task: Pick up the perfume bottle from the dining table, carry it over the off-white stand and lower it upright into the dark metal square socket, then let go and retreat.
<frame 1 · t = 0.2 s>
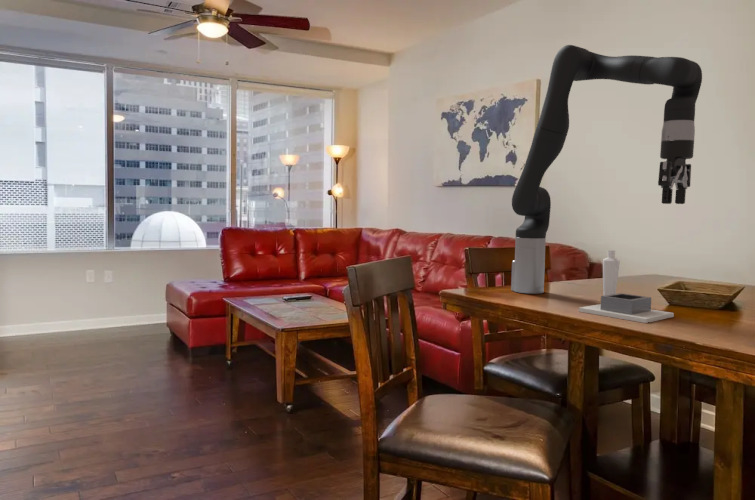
hand: (673, 203, 152), 28 cm above the table, fingers open, 8 cm apart
socket collar: (625, 303, 153), on the stand board, point 3 cm above the table
stand board: (625, 314, 153), on the table
perfume bottle: (609, 303, 170), on the table
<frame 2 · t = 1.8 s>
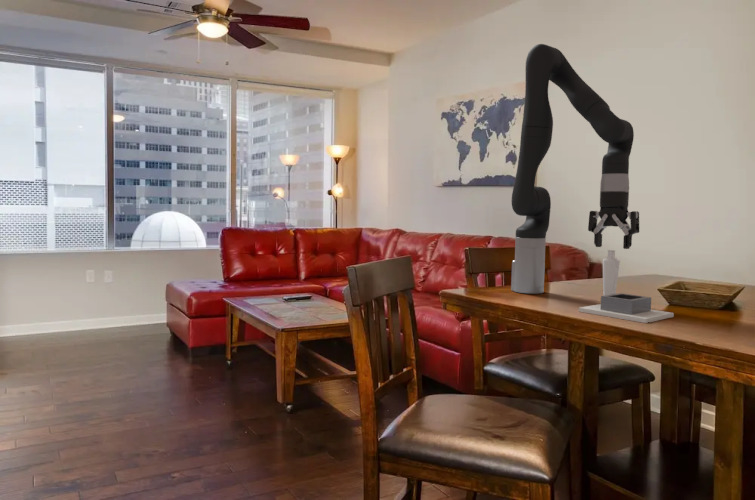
hand: (612, 247, 169), 16 cm above the table, fingers open, 8 cm apart
nothing on the table moved.
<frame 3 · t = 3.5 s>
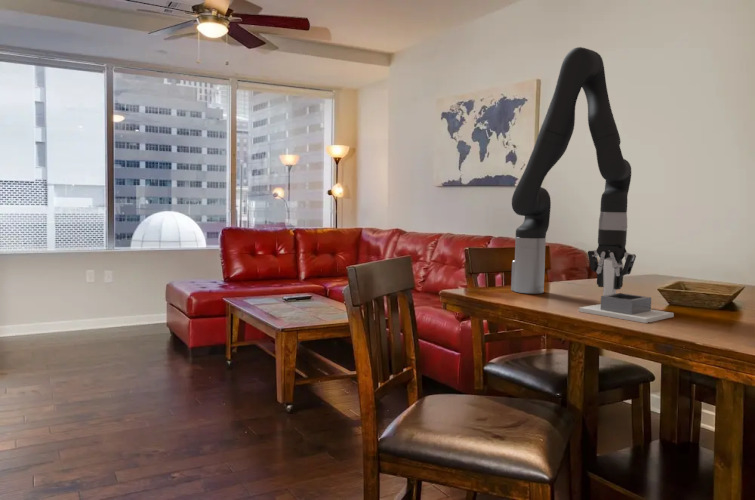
hand: (609, 287, 170), 4 cm above the table, fingers closed on perfume bottle, 4 cm apart
perfume bottle: (609, 303, 170), on the table, touching gripper
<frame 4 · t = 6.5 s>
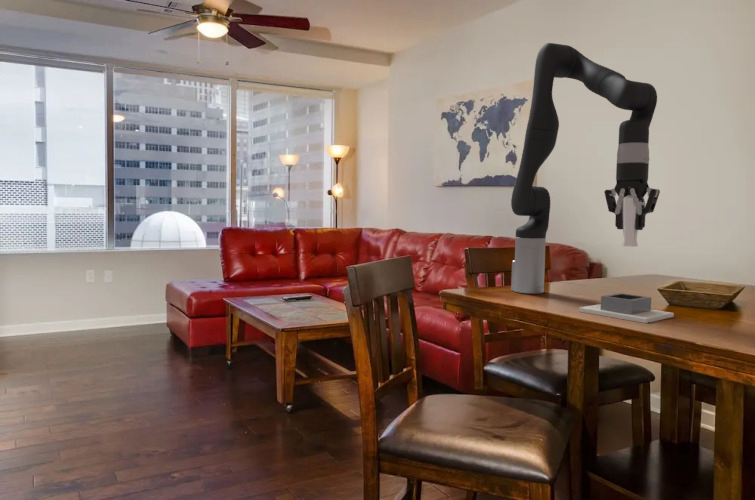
hand: (629, 229, 152), 22 cm above the table, fingers closed on perfume bottle, 4 cm apart
perfume bottle: (630, 246, 152), point 17 cm above the table, touching gripper
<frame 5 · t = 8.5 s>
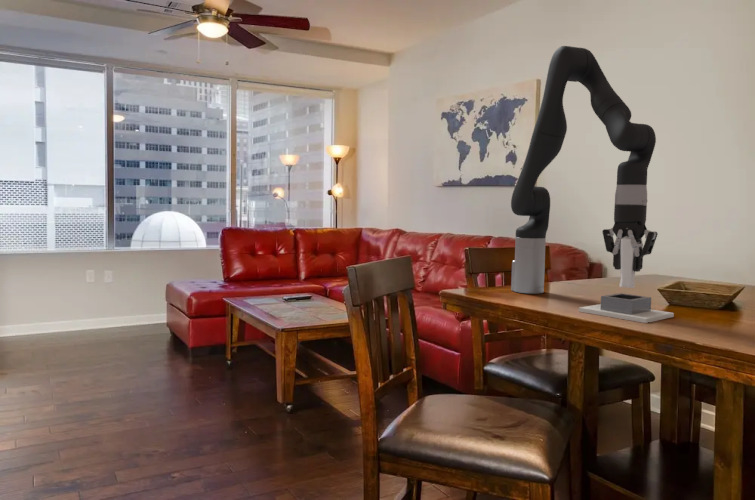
hand: (627, 270, 152), 11 cm above the table, fingers closed on perfume bottle, 4 cm apart
perfume bottle: (627, 287, 152), point 7 cm above the table, touching gripper
when the fingers open (6 cm above the table, at t = 9.9 s): perfume bottle stays where it is, resting on stand board.
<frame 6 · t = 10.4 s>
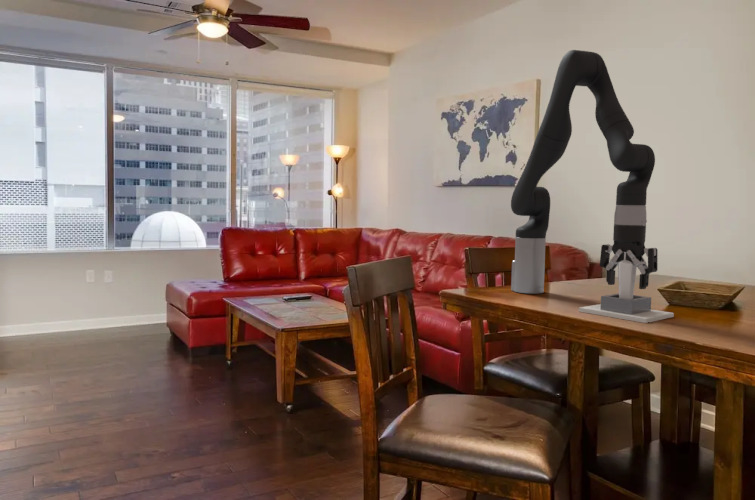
hand: (626, 286, 152), 7 cm above the table, fingers open, 8 cm apart
perfume bottle: (626, 311, 153), point 1 cm above the table, touching stand board
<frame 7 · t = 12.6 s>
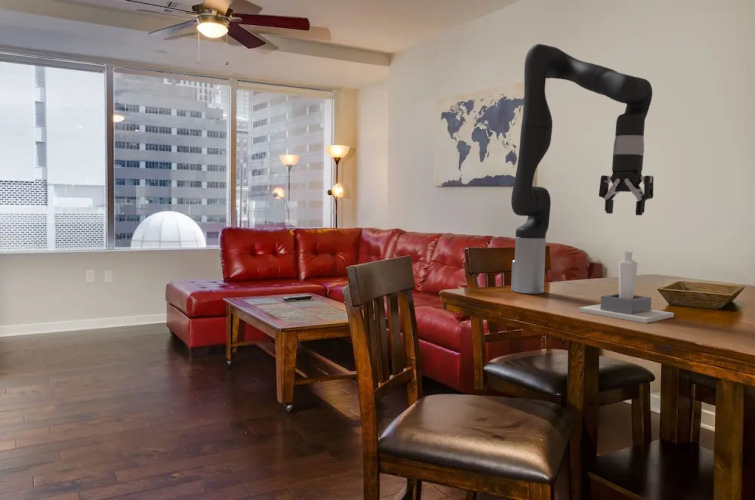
hand: (623, 214, 160), 25 cm above the table, fingers open, 8 cm apart
nothing on the table moved.
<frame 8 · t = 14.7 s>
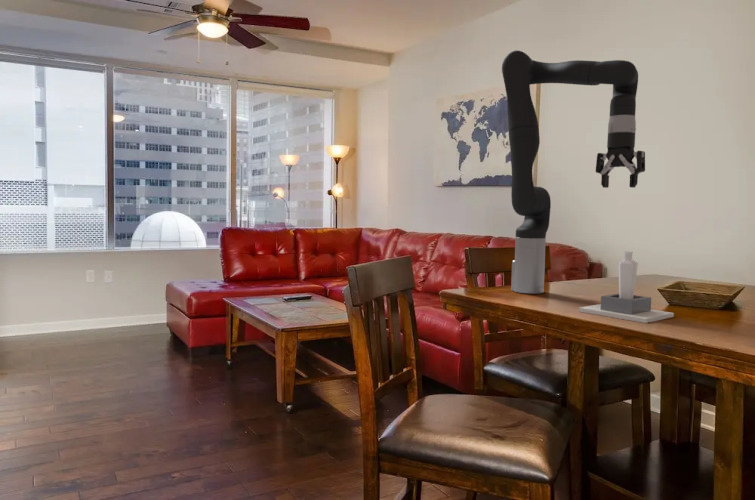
hand: (618, 187, 176), 33 cm above the table, fingers open, 8 cm apart
nothing on the table moved.
at the end: perfume bottle 0.1 cm off-centre on the socket collar, point 0.8 cm above the socket collar's base; perfume bottle tilted 0°; the gripper is holding nothing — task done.
